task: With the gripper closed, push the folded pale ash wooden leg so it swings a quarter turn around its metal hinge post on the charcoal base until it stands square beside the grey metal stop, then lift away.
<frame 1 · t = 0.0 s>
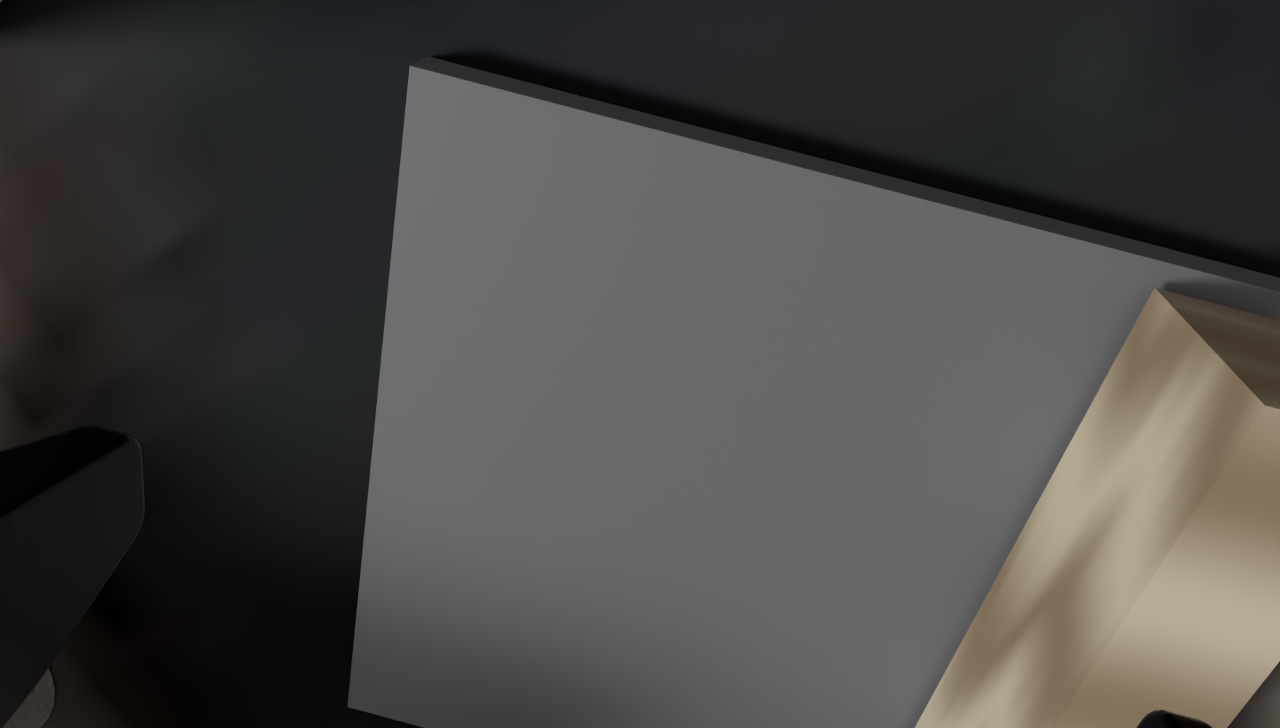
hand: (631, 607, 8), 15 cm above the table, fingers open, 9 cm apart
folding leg: (1097, 642, 21), point 4 cm above the table, hinge at 0.0°
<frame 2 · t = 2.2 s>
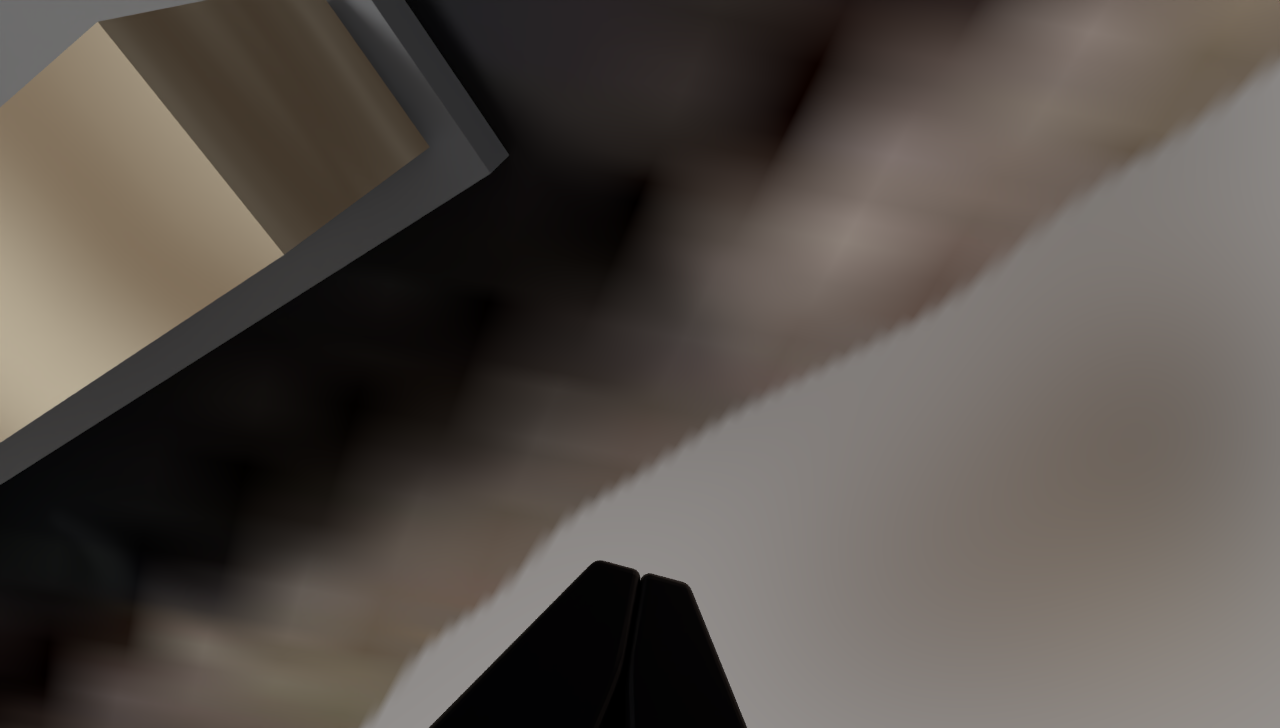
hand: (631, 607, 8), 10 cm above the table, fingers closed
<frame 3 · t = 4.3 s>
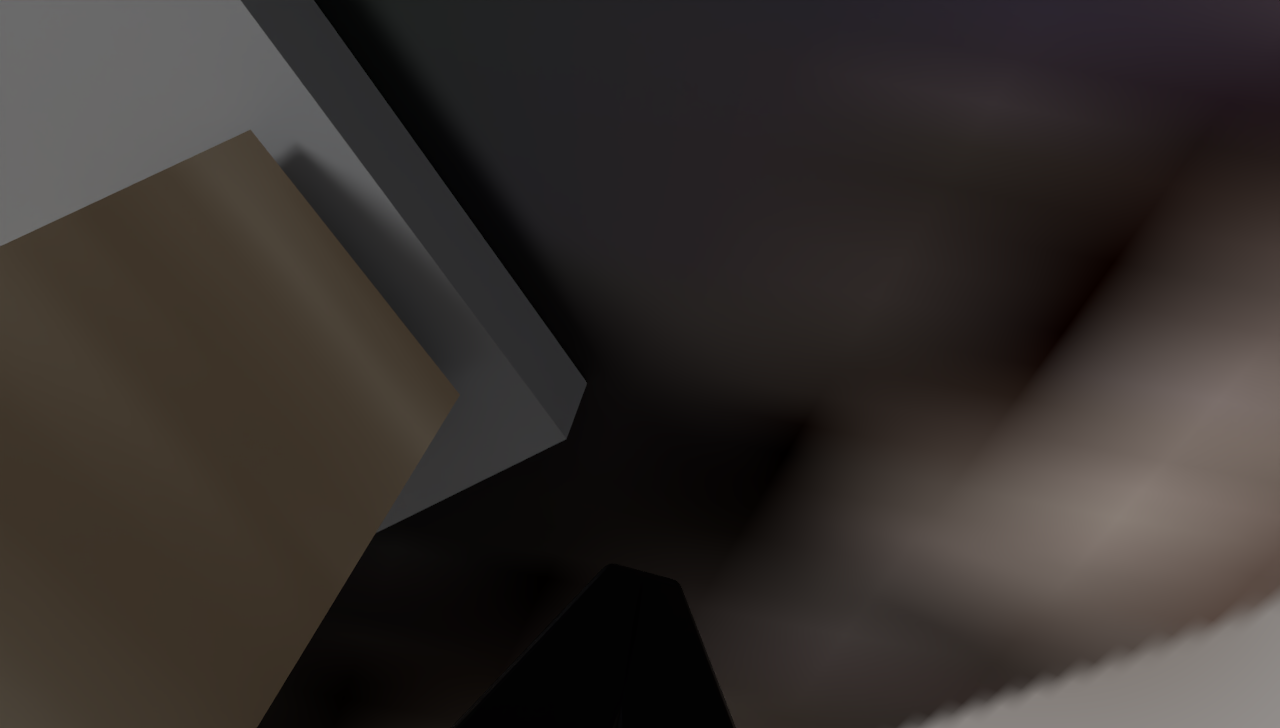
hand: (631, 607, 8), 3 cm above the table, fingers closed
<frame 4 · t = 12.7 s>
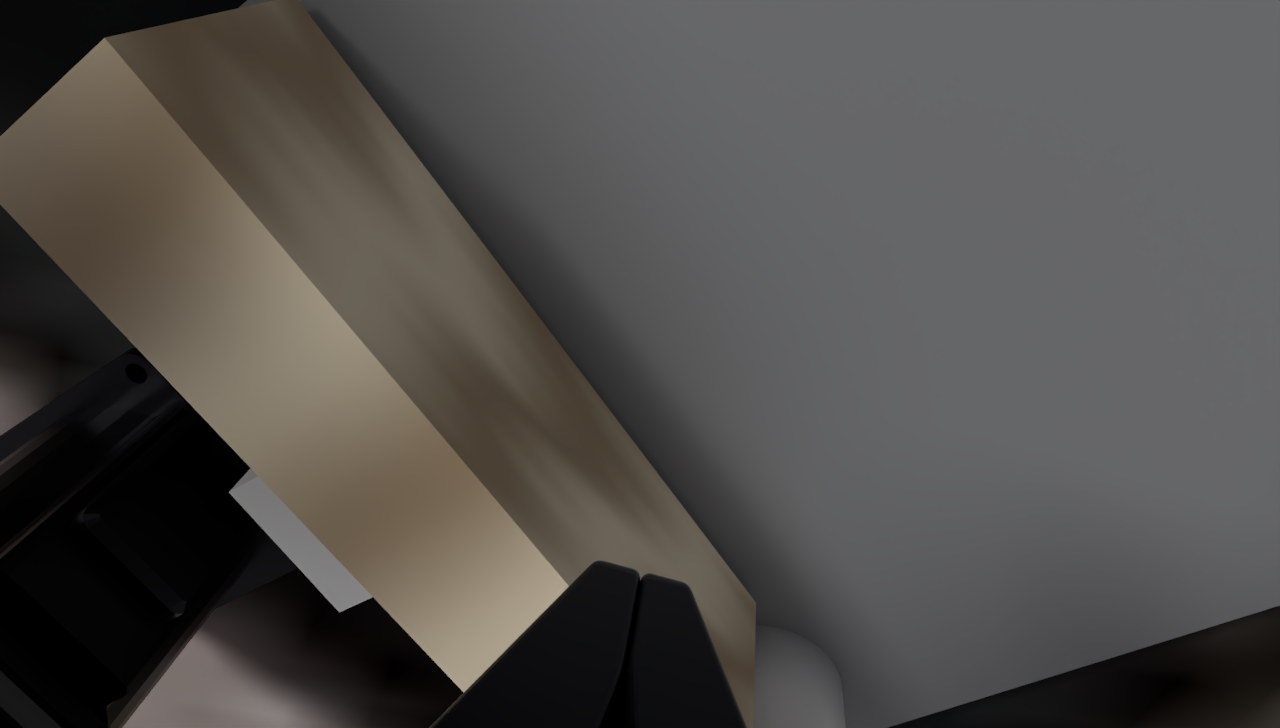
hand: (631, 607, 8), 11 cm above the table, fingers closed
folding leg: (459, 439, 16), point 4 cm above the table, hinge at 92.0°, touching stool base
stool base: (757, 651, 23), on the table
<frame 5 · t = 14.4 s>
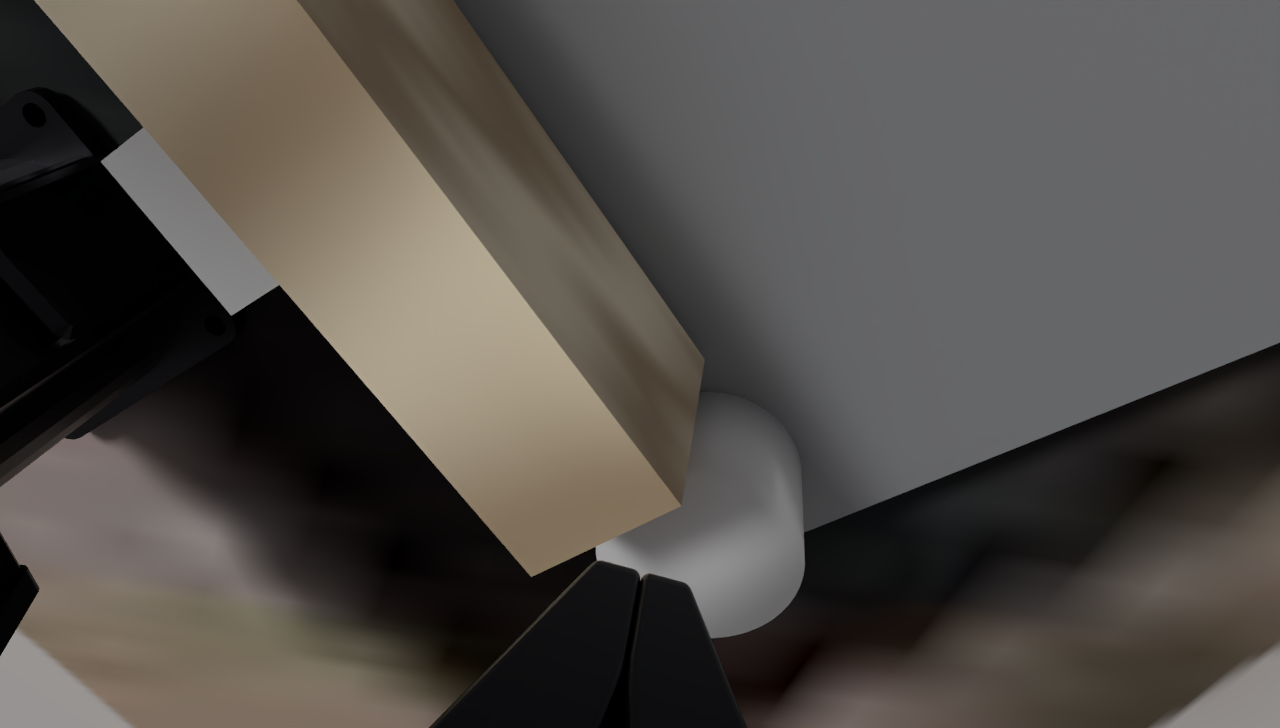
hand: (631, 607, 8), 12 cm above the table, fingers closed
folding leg: (359, 110, 15), point 4 cm above the table, hinge at 92.0°, touching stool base
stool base: (712, 442, 21), on the table
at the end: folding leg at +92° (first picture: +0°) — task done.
